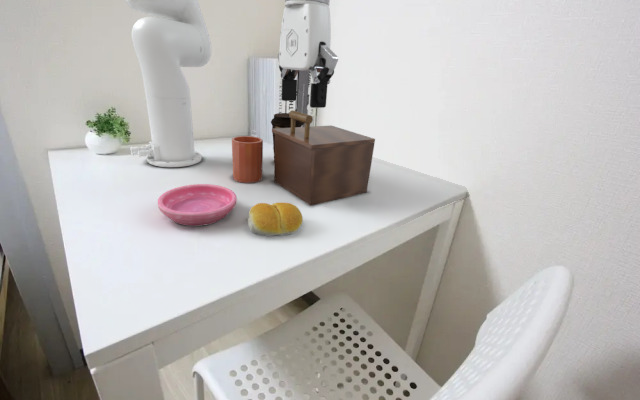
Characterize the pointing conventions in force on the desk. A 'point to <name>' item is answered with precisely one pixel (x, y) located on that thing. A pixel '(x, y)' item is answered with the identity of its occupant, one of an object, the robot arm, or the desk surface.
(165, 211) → the saucer
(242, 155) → the tumbler
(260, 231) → the bread roll
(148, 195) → the desk surface
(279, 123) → the coffee cup
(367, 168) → the chest
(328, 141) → the lid
